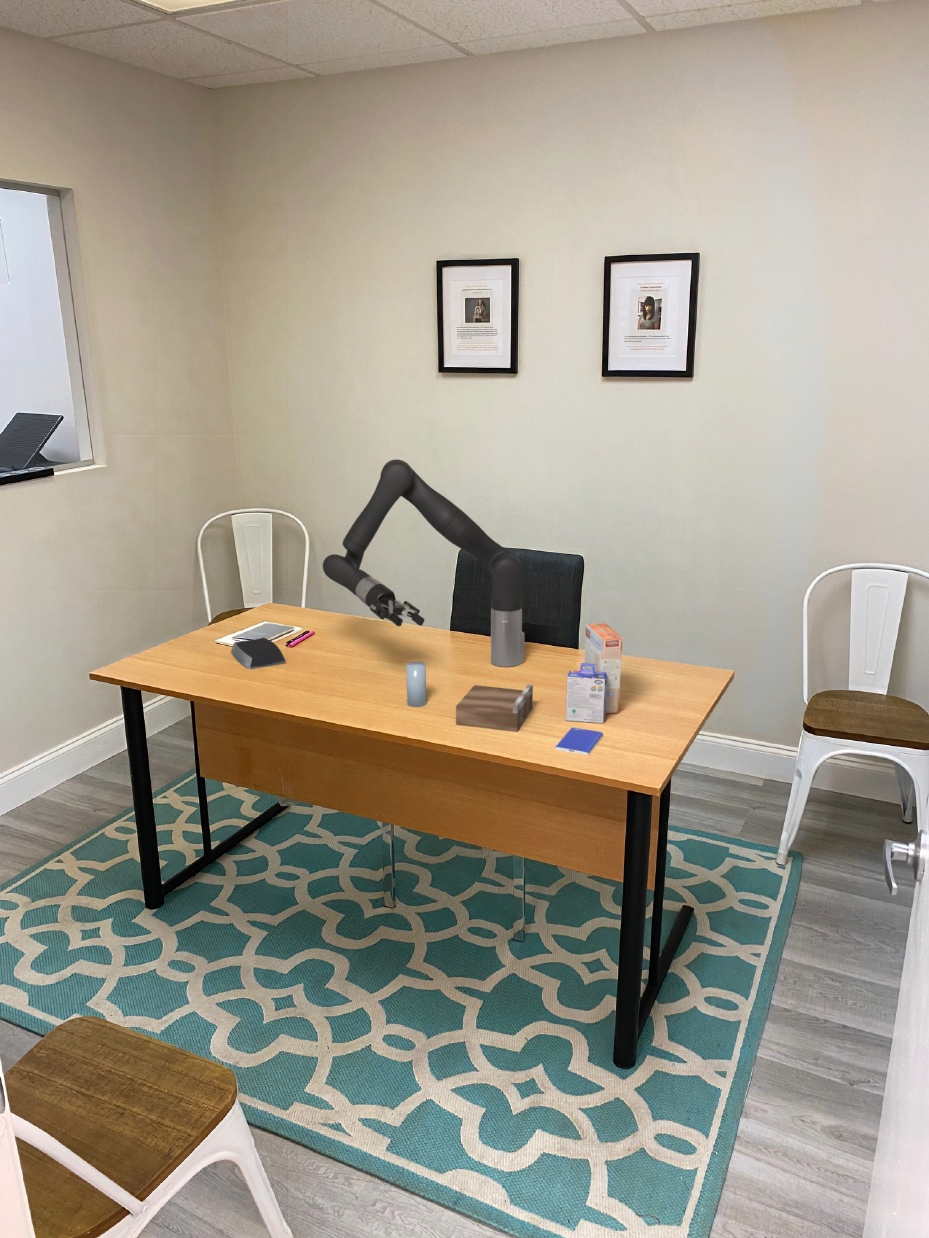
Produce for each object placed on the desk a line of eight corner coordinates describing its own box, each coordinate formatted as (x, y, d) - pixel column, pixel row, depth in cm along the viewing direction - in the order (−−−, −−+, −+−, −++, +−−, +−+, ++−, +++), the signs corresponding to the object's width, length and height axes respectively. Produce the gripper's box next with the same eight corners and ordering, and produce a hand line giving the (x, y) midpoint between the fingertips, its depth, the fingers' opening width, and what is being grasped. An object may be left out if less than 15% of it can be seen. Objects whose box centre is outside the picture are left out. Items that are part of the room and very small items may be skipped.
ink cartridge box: (605, 716, 243) (607, 663, 239) (604, 724, 238) (606, 670, 234) (567, 713, 245) (569, 660, 241) (565, 721, 240) (566, 667, 236)
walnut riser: (474, 702, 252) (474, 677, 250) (532, 708, 248) (532, 684, 246) (456, 724, 238) (455, 698, 236) (517, 731, 233) (517, 705, 231)
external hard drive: (246, 671, 278) (245, 658, 277) (228, 653, 294) (227, 641, 293) (288, 664, 284) (288, 651, 283) (269, 647, 300) (268, 635, 299)
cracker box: (619, 713, 244) (623, 637, 238) (597, 715, 243) (600, 638, 237) (603, 694, 257) (606, 621, 252) (582, 696, 257) (584, 623, 251)
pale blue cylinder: (421, 698, 255) (420, 660, 252) (429, 704, 251) (429, 666, 248) (403, 701, 253) (403, 663, 250) (411, 708, 248) (411, 669, 245)
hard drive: (571, 726, 233) (555, 745, 223) (603, 731, 230) (588, 751, 219) (571, 732, 234) (555, 751, 223) (602, 737, 231) (588, 757, 220)
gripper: (361, 582, 258) (398, 611, 249) (397, 583, 268) (434, 610, 260) (352, 606, 260) (389, 636, 251) (388, 606, 271) (424, 634, 262)
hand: (412, 623), depth 255 cm, fingers open, 8 cm apart
